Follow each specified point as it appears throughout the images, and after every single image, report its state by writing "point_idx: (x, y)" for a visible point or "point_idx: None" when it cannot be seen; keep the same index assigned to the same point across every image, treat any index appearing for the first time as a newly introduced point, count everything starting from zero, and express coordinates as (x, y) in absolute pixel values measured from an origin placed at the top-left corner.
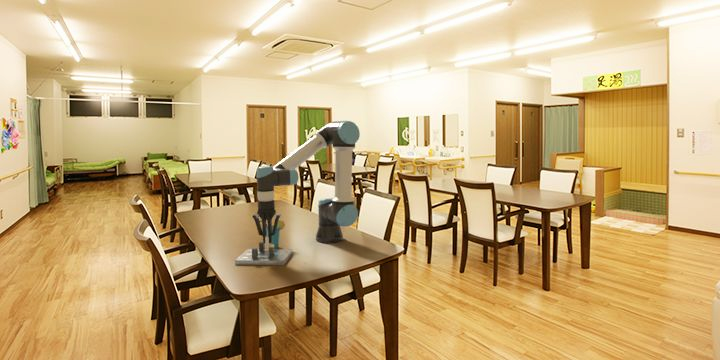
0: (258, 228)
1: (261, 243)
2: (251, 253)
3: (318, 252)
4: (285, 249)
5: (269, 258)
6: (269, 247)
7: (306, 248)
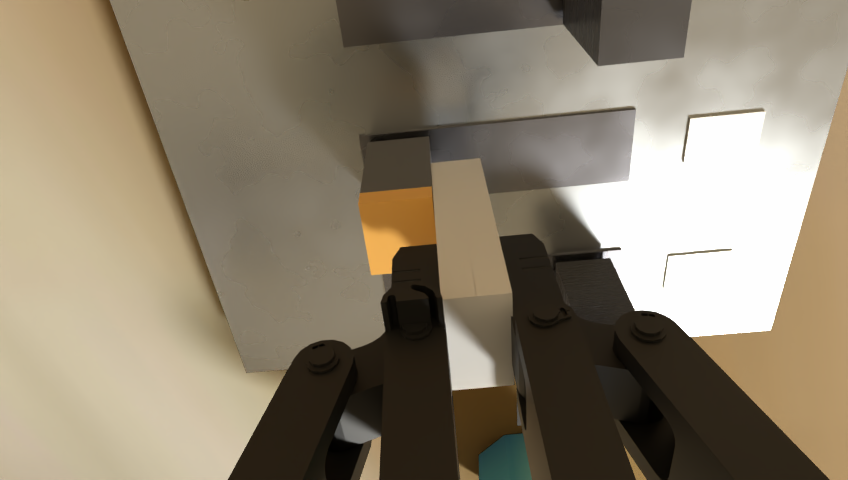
0: (749, 444)
1: None
2: (695, 177)
3: (14, 393)
4: None
5: None
6: (417, 185)
7: (201, 469)
